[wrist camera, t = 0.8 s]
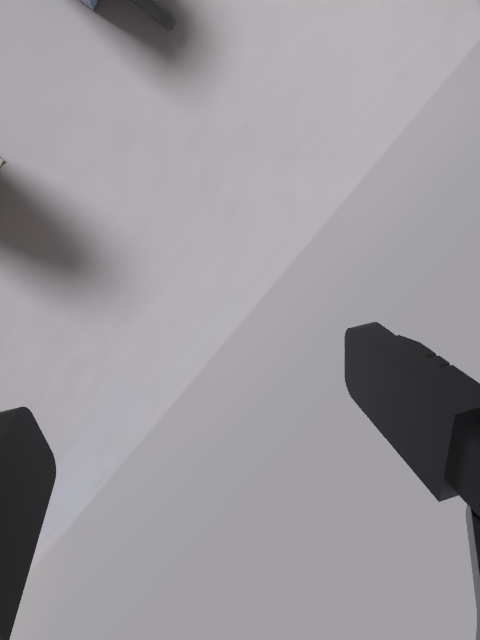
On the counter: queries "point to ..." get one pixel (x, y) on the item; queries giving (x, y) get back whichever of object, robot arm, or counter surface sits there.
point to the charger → (148, 11)
